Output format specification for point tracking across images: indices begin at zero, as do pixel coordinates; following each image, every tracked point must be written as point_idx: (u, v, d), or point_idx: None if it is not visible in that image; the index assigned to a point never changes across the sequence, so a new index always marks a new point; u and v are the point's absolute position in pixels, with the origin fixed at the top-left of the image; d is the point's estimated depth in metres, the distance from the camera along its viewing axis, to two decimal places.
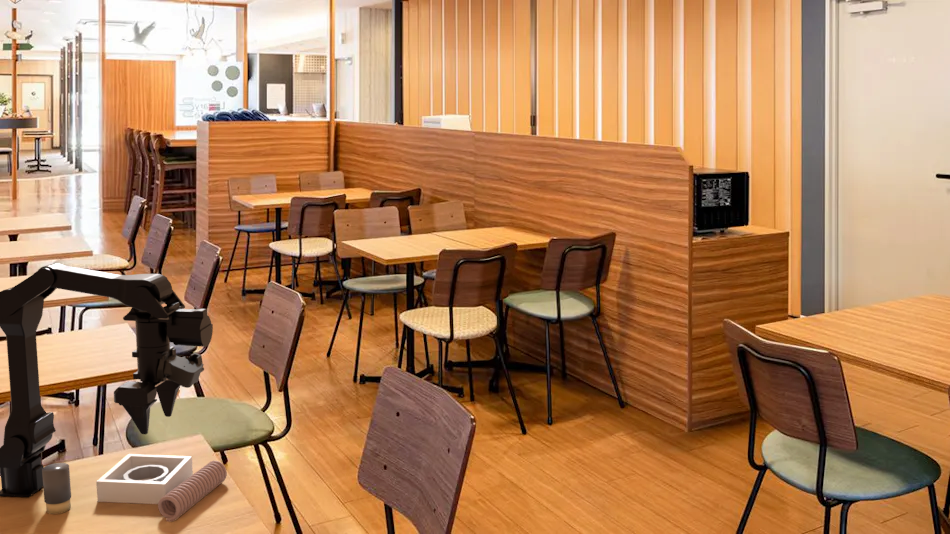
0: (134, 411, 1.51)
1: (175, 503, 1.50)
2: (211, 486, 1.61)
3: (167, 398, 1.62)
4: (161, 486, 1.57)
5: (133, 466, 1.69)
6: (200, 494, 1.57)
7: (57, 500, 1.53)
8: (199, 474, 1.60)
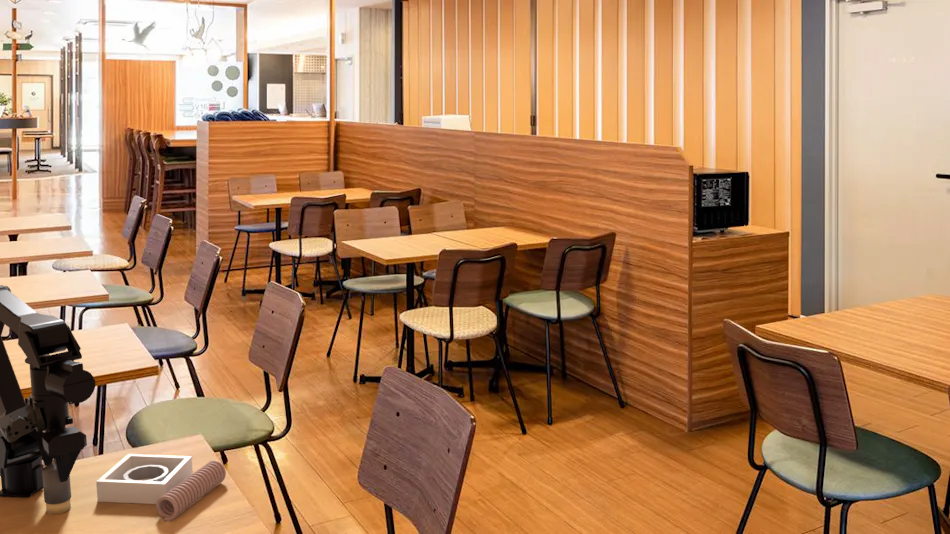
0: None
1: (173, 503, 1.50)
2: (210, 486, 1.61)
3: None
4: (161, 486, 1.57)
5: (133, 466, 1.69)
6: (198, 494, 1.57)
7: (57, 500, 1.53)
8: (198, 474, 1.61)
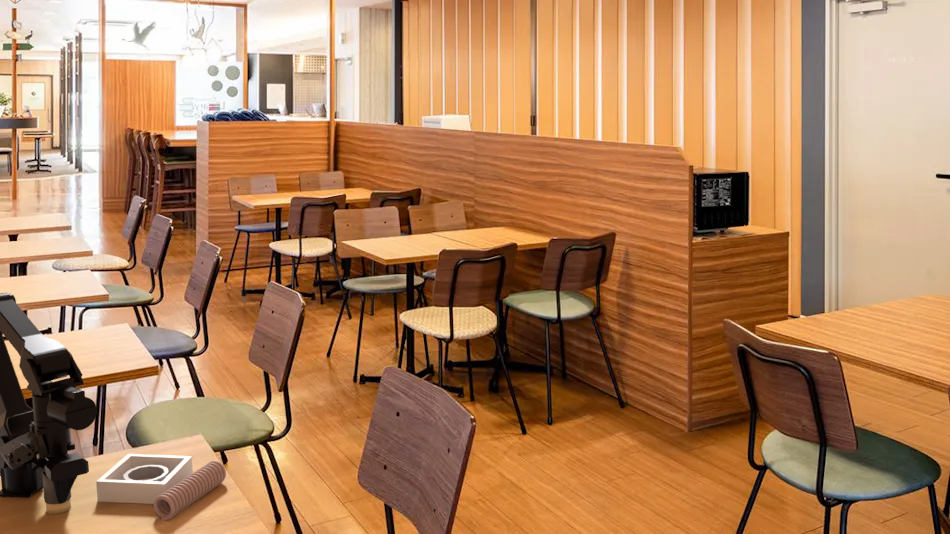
0: None
1: (170, 503, 1.51)
2: (209, 486, 1.61)
3: None
4: (161, 486, 1.57)
5: (133, 466, 1.69)
6: (197, 494, 1.57)
7: (57, 500, 1.53)
8: (197, 474, 1.61)
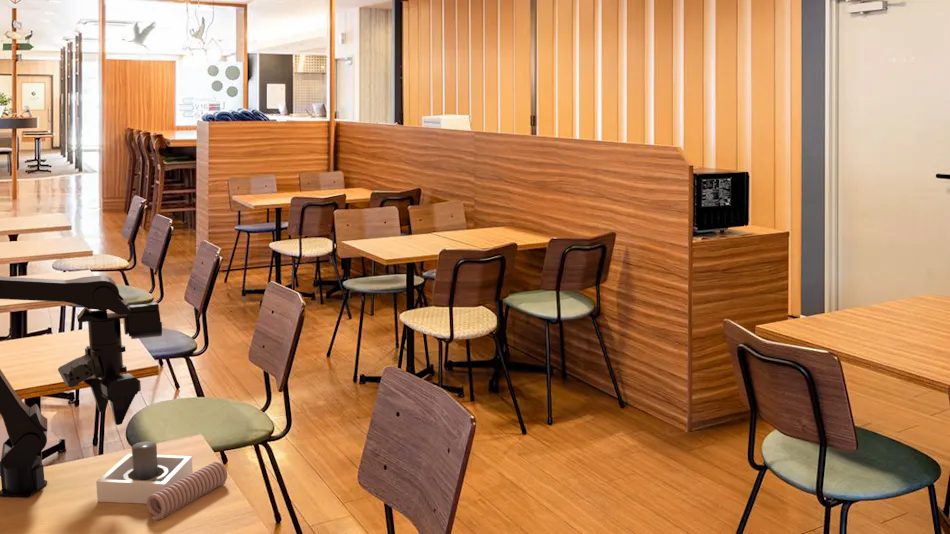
0: None
1: (160, 502, 1.51)
2: (207, 487, 1.61)
3: None
4: (161, 486, 1.57)
5: None
6: (192, 495, 1.57)
7: (146, 476, 1.61)
8: (195, 474, 1.60)
